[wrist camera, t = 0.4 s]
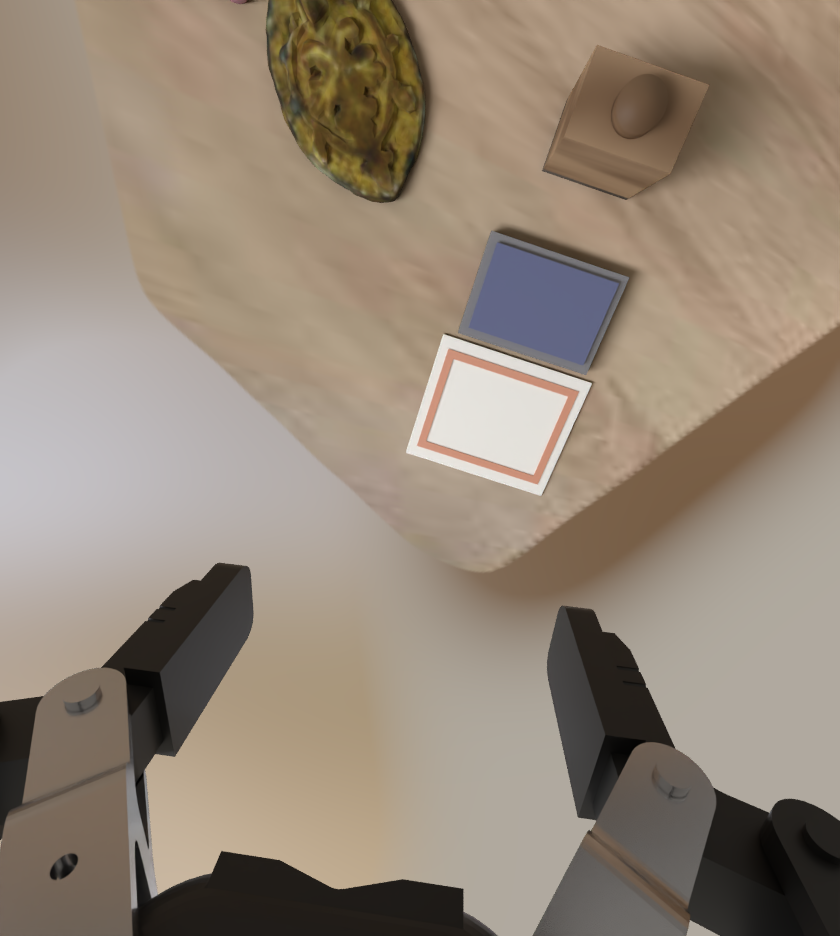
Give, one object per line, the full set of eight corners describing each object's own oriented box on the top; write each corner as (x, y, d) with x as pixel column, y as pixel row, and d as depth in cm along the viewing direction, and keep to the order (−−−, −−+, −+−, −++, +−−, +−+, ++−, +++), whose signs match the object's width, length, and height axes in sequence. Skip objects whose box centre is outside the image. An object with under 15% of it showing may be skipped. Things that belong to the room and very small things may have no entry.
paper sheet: (443, 333, 35) (443, 334, 35) (591, 382, 35) (592, 383, 35) (406, 451, 38) (405, 452, 38) (540, 495, 39) (541, 496, 38)
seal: (458, 169, 32) (353, -87, 28) (466, 145, 28) (343, -164, 23) (342, 234, 33) (224, -1, 29) (332, 221, 29) (191, -59, 24)
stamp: (566, 100, 29) (603, 33, 22) (654, 131, 29) (720, 75, 22) (542, 170, 31) (568, 130, 23) (625, 199, 31) (678, 168, 23)
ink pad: (490, 232, 32) (491, 229, 31) (623, 278, 32) (631, 277, 31) (458, 331, 35) (457, 333, 33) (581, 372, 35) (587, 376, 33)
